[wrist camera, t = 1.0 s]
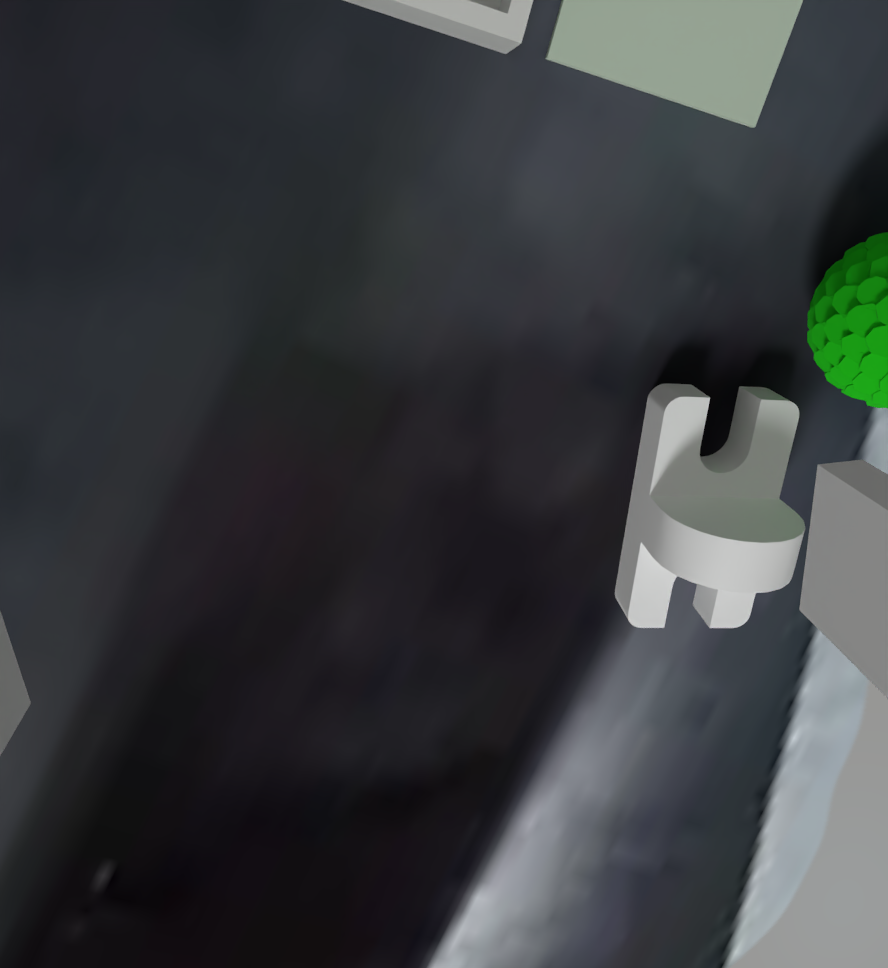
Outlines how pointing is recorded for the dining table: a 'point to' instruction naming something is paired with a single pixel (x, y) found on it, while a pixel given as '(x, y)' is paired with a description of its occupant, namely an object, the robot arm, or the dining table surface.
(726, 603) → the slotted bracket
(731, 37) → the mat
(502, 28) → the tray
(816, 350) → the ornament
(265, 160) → the dining table surface
